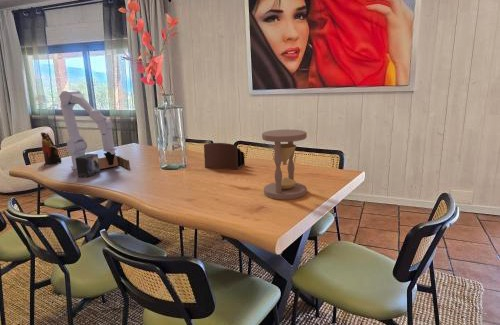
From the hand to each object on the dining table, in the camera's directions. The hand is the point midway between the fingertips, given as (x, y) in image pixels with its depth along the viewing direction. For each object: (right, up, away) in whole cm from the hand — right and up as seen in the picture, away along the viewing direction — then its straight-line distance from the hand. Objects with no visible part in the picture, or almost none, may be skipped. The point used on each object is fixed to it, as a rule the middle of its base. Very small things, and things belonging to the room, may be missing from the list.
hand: (111, 164), depth 194 cm
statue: (-46, +1, +22) cm, 51 cm away
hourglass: (+93, -11, -53) cm, 108 cm away
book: (-3, -1, +2) cm, 4 cm away
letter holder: (+65, -1, -6) cm, 65 cm away
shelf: (0, -2, +1) cm, 2 cm away
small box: (-7, -5, -11) cm, 14 cm away
